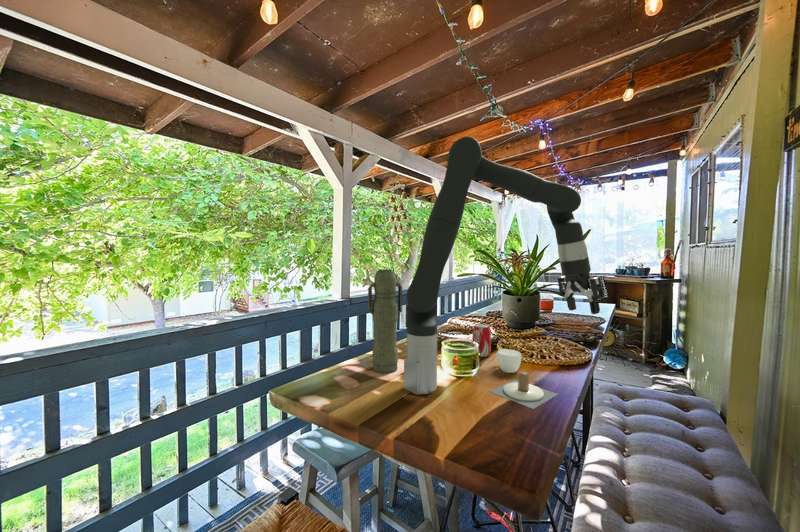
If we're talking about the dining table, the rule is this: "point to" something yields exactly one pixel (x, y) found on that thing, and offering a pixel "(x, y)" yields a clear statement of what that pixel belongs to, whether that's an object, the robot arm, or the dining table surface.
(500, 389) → the mat
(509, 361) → the cup
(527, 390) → the lid
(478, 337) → the soda can
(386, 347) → the thermos
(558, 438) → the dining table surface
